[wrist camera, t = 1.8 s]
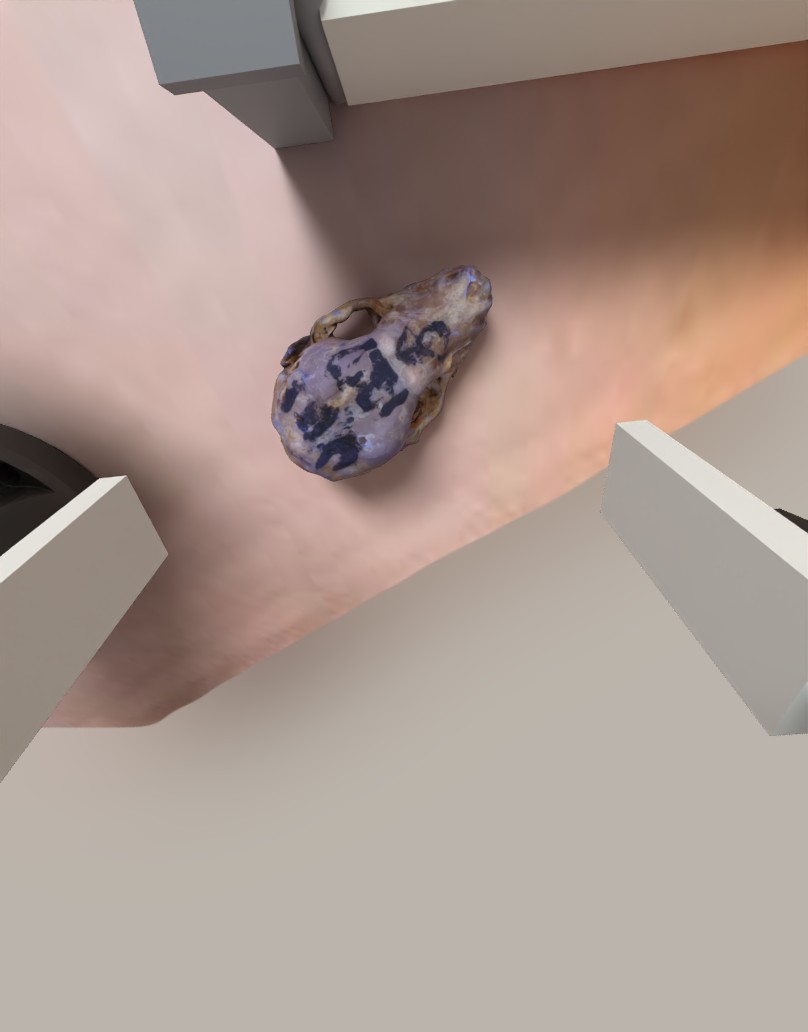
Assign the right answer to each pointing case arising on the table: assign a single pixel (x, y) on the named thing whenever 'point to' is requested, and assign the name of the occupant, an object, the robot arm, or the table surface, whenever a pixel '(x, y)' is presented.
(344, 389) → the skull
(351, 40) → the gate
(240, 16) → the hinge post
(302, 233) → the table surface
